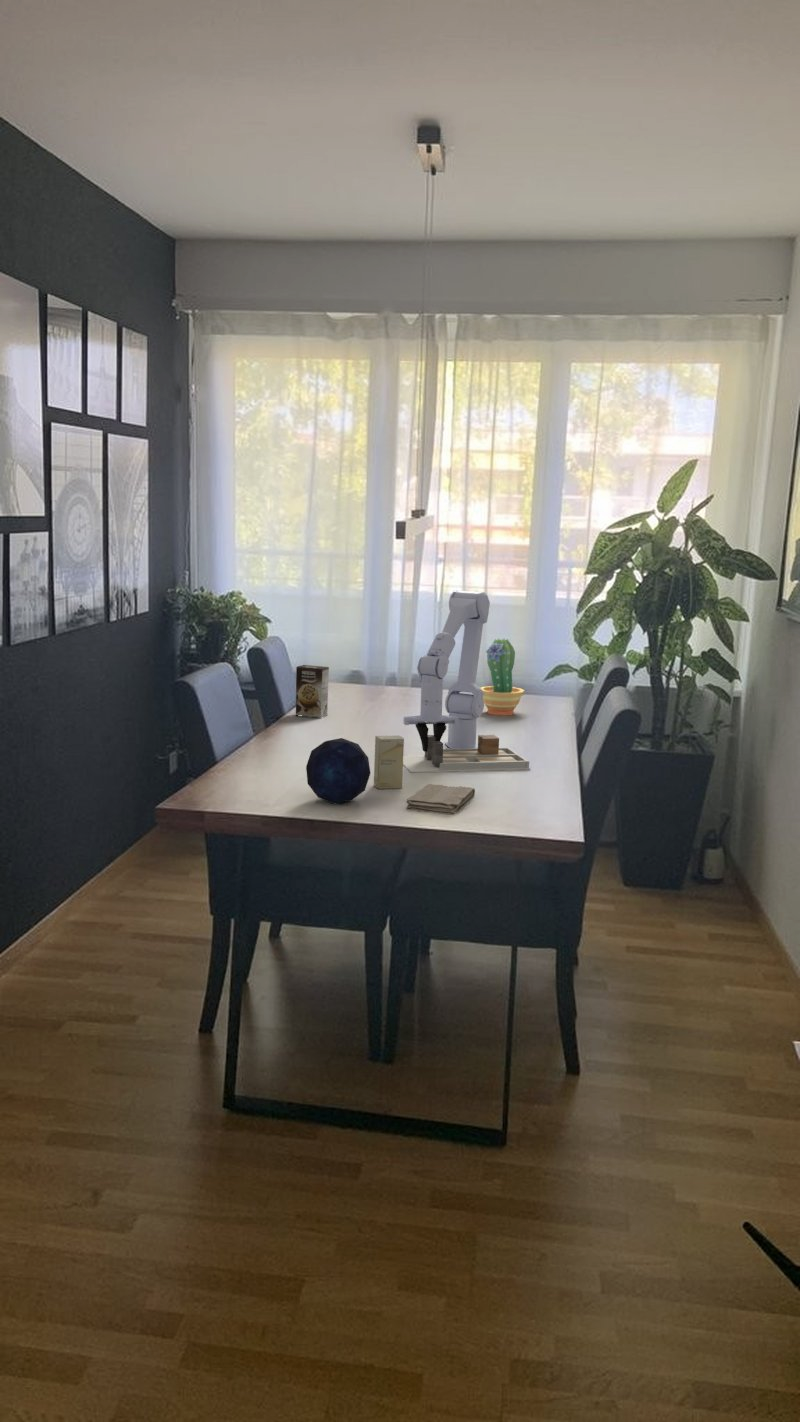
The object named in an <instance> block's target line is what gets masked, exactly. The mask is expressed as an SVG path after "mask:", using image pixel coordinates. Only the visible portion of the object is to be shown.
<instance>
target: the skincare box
mask: <svg viewBox="0 0 800 1422" xmlns="http://www.w3.org/2000/svg"><path fill="white" fill-rule="evenodd" d="M374 738H375V739H374V765H373V766H374V767H373V785H374V786H375V788H377V789H379V790H384V789H385V790H386V789H387V790H388V789H389V790H390V789H392V790H393V789H402V788H403V774H404V772H403V771H404V769H403V768H404V765H403V756H404V749H405V748H404V746H405V738H404V737H403V736H401V735H375V737H374Z"/></svg>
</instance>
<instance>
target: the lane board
mask: <svg viewBox="0 0 800 1422" xmlns="http://www.w3.org/2000/svg"><path fill="white" fill-rule="evenodd" d="M499 750H503V751H504V752H505V753H507V754H493V755H452V756H443V758H465V759H467V760H468V761H469V762H457V763H440V766H434V765H433V764H432V759H427V758H425V754H411V755H403V767H404V768H406V770H407V771H408V772H409V773H411V774H412V773H416V774H417V773H445V772H446V773H447V772H448V773H449V772H451V773H452V772H453V773H454V772H478V771H479V772H480V771H482V772H483V771H485V772H486V771H520V770H523V771H524V770H531V767H530V761H529V760H528V759H527V758H525V757H524V756H522V755H521V754H519V753H517V752H516V751H515V750H514V749H512V748H511V747H508V746H507V747H499ZM447 751H478V748H465V749H451V748H443V752H447ZM480 757H513V758H514V759H515V760H517V761H496V762H476V761H475V758H480Z"/></svg>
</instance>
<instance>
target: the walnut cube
mask: <svg viewBox="0 0 800 1422" xmlns="http://www.w3.org/2000/svg"><path fill="white" fill-rule="evenodd" d="M499 745H500V737H498V736H496V735H495V734H478V735H477V746H478V752H479V753H480V754H482V755H493V754H499V748H500V746H499Z"/></svg>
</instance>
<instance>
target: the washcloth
mask: <svg viewBox="0 0 800 1422" xmlns="http://www.w3.org/2000/svg"><path fill="white" fill-rule="evenodd" d="M475 793H476V790H475V788H474V787H469V786H454V785H453V786H450V785H449V786H448V785H443V784H442V785H441V784H433V783H429V784H426V785H425V786H423V788H421V789H419V790H418V791H416V792H415V793H414V794H412V795H411V796H410V797H408V798H407V799H406V801H405V802H406V804H407V806H406V807H405V808H406V810H413V811H420V812H428V813H429V812H430V813H437V814H444V815H447V814H448V815H453V814H456V813H458V812H460V811H461V810H462V809H463V808H464V807H465V806H466V805H467V804H468V803H469V802H470V801H471V800H473V798H474V797H475Z"/></svg>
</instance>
